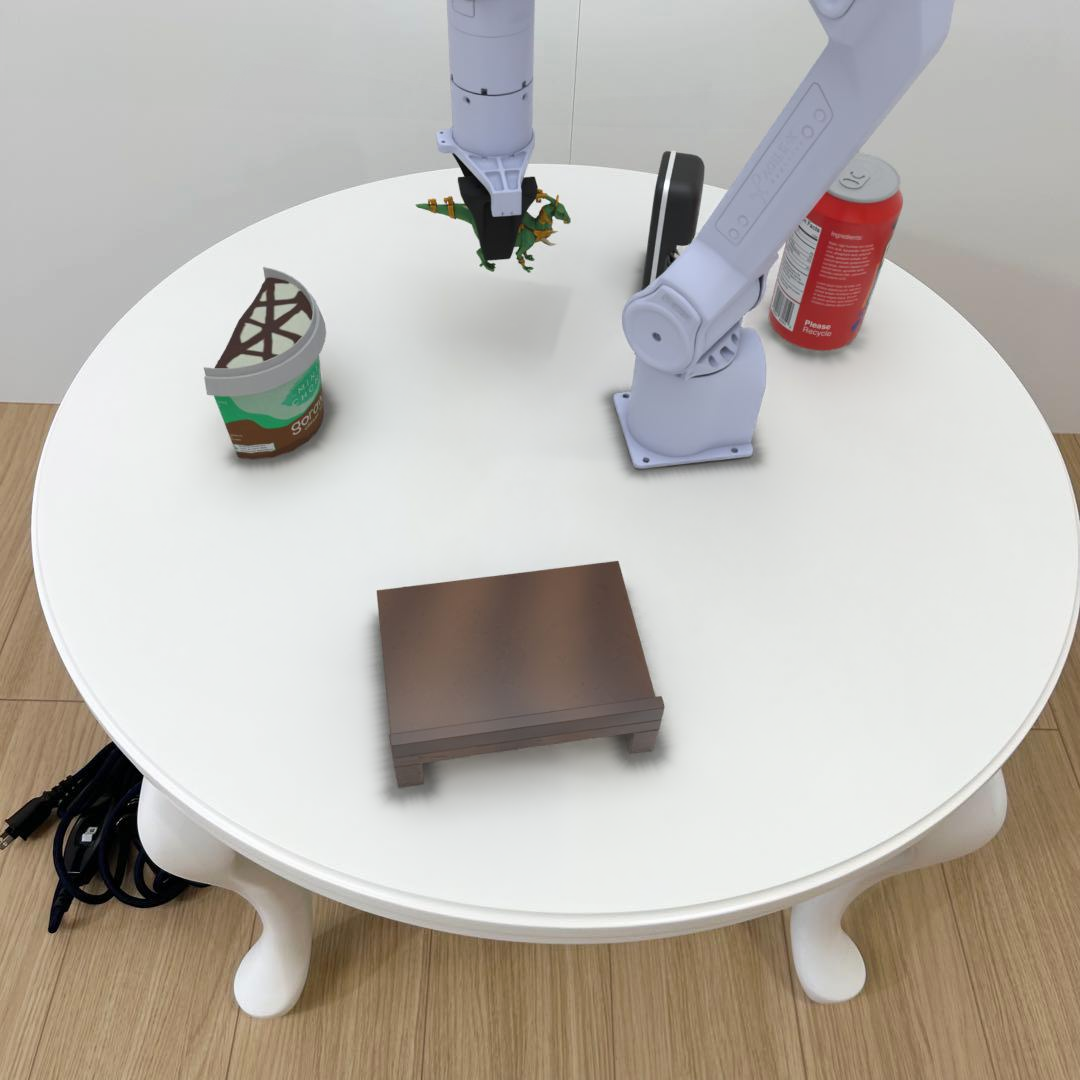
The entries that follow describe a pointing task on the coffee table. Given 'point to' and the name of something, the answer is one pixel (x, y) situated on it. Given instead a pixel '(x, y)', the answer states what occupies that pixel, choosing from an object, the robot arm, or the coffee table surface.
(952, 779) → the coffee table surface
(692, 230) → the battery charger
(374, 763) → the coffee table surface
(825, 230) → the soda can
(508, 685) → the display stand
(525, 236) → the figurine
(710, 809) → the coffee table surface
